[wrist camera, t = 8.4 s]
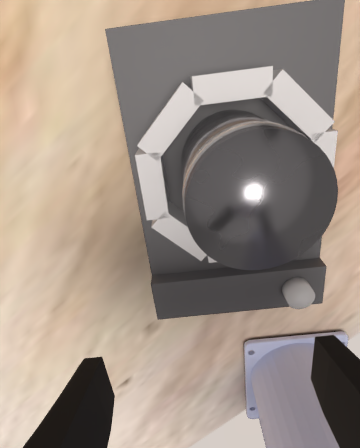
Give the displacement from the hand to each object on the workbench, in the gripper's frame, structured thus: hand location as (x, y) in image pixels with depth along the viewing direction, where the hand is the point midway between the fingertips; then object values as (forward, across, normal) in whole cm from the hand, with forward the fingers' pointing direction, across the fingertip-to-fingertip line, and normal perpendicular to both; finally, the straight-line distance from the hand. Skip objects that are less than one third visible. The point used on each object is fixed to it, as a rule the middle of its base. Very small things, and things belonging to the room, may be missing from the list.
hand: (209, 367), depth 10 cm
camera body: (+10, -2, -5) cm, 12 cm away
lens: (+6, -2, -5) cm, 9 cm away
